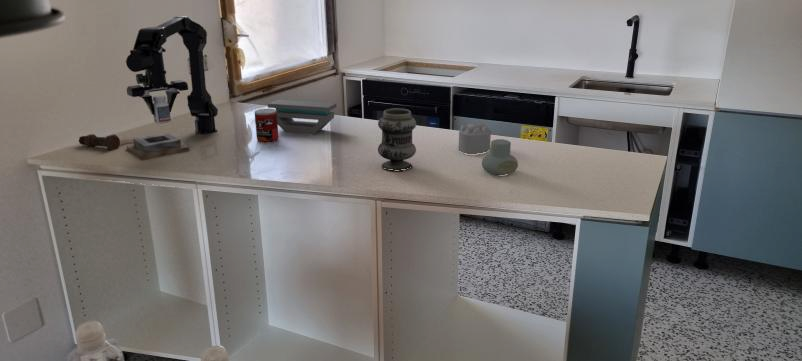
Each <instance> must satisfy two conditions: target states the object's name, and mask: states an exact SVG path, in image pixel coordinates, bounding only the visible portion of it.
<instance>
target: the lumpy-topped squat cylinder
mask: <svg viewBox="0 0 802 361" xmlns="http://www.w3.org/2000/svg"><path fill="white" fill-rule="evenodd" d="M491 133H492V129H491V127H490V126H486V125H485V124H483V123H474V122H473V123H469V124H467V125H466V124H463V125H461V126H460V129H459V131H458V152H459V151H461V152H463V153H467V154H477V153H483V152H487V151H488V150H489V149H490V150H491V135H492V134H491ZM490 150H489V151H490Z"/></svg>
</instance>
